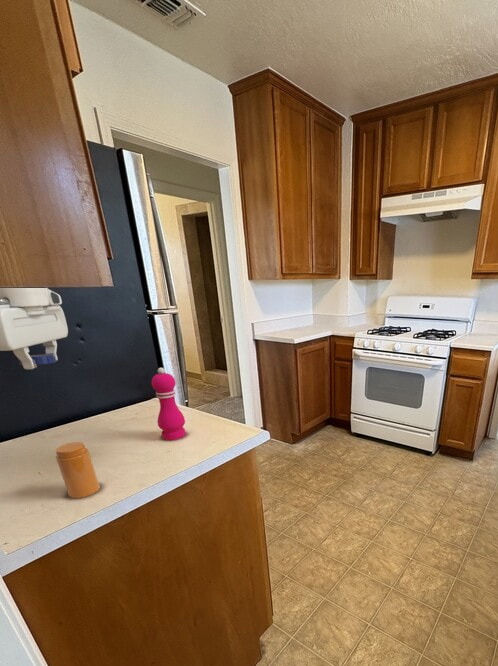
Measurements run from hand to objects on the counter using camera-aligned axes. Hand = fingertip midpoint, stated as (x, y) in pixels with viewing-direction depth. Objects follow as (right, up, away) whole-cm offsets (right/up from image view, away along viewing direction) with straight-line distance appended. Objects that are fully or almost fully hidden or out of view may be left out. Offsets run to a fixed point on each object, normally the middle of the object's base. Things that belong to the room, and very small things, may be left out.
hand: (42, 364), depth 77 cm
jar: (+10, -27, -2) cm, 29 cm away
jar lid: (-1, +2, -1) cm, 2 cm away
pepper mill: (+18, -16, +25) cm, 35 cm away
